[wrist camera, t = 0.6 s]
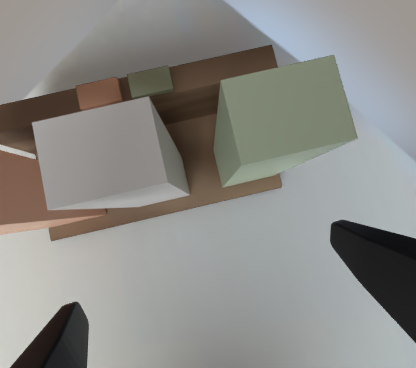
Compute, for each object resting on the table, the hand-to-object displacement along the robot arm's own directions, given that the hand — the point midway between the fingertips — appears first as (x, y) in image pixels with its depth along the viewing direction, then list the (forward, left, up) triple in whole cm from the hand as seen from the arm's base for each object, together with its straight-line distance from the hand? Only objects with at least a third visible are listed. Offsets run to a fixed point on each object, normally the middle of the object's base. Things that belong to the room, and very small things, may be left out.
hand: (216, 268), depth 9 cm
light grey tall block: (+5, +3, -10) cm, 12 cm away
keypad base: (+6, +3, -11) cm, 14 cm away
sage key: (+5, -4, -10) cm, 12 cm away
